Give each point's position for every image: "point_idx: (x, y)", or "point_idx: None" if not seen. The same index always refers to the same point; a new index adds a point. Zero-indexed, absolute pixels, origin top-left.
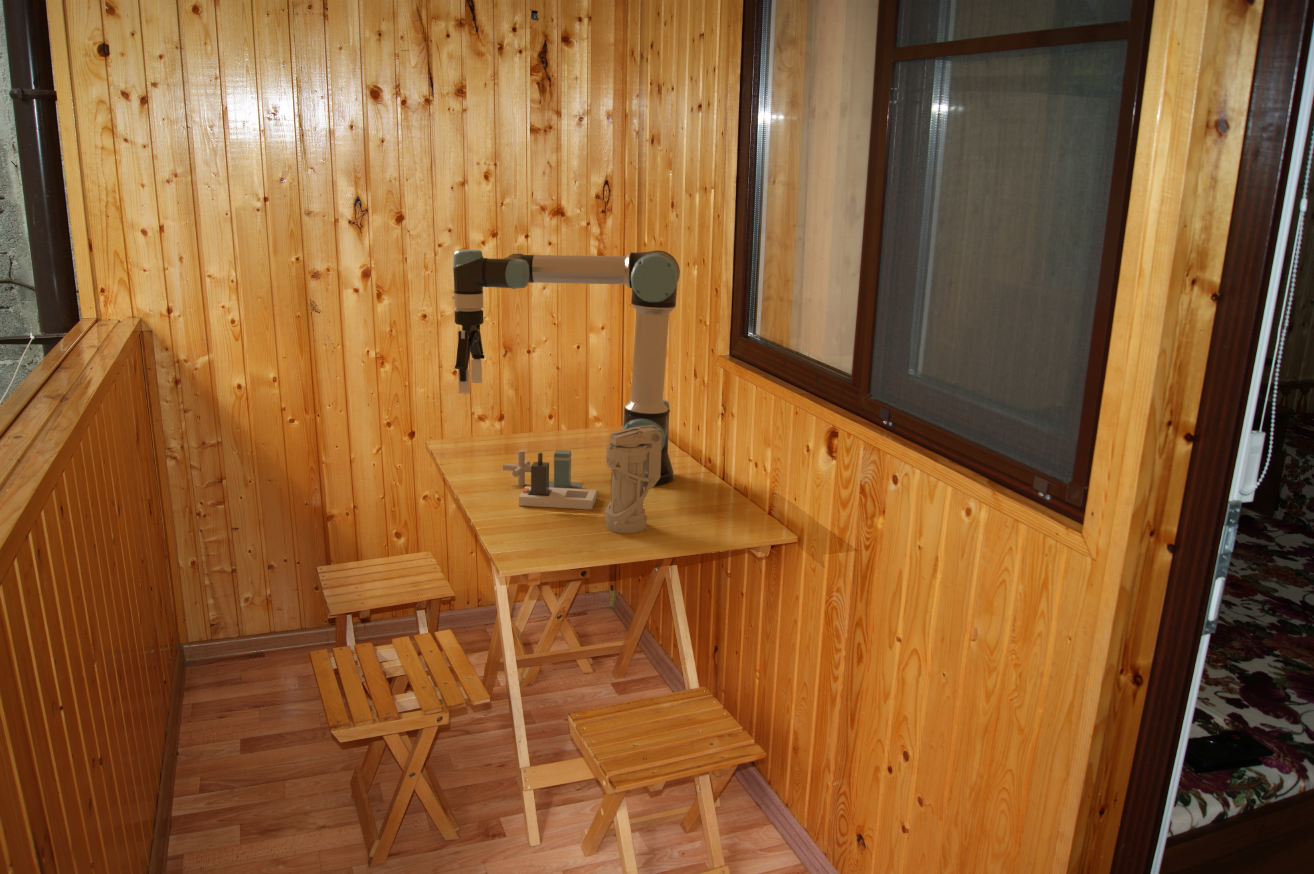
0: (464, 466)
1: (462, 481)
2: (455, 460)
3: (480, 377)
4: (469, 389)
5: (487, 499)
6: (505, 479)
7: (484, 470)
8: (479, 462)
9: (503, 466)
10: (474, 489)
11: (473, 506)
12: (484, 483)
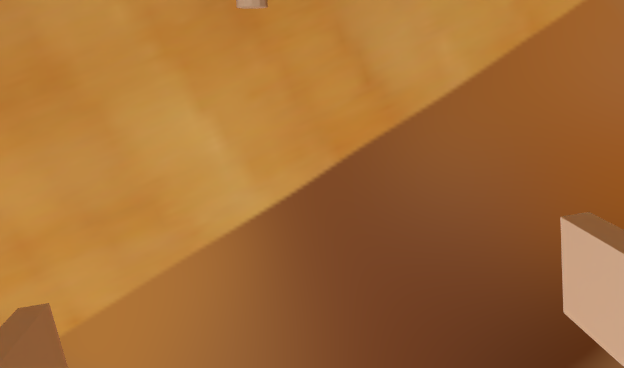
0: (87, 251)
1: (271, 181)
2: None
3: (25, 342)
4: (585, 228)
5: (447, 6)
6: (188, 32)
7: (105, 159)
8: (9, 220)
9: (266, 4)
10: (348, 100)
11: (534, 26)
12: (266, 93)
